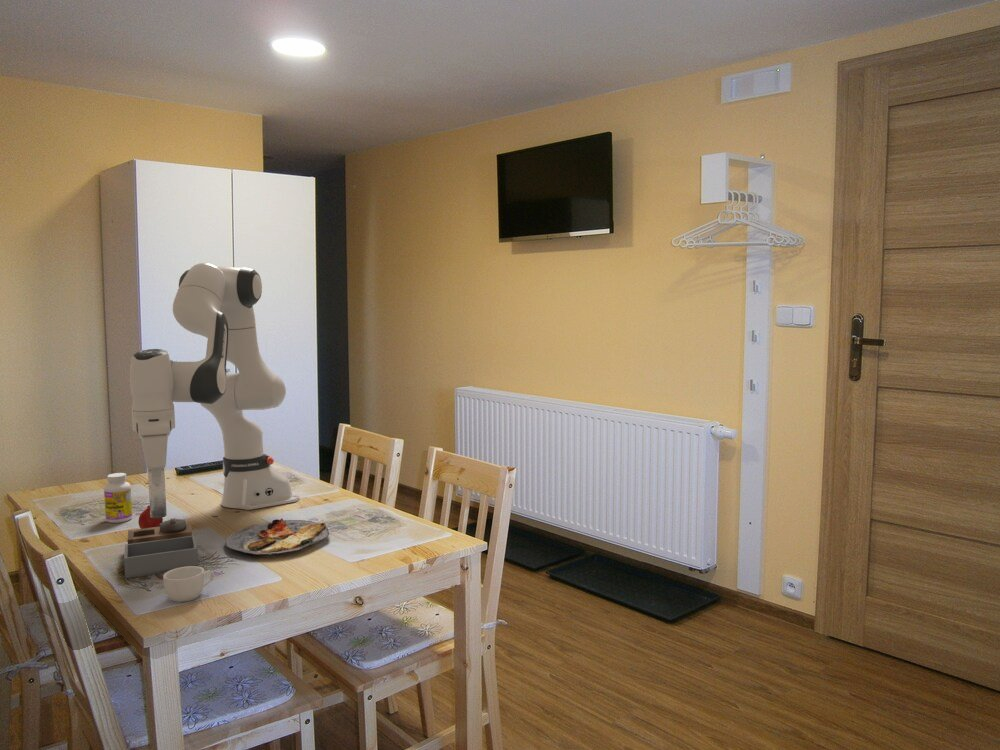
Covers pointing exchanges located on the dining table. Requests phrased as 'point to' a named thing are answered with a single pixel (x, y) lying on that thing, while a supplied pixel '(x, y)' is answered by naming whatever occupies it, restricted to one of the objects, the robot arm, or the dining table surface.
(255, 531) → the food plate
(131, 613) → the dining table surface
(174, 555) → the parts tray
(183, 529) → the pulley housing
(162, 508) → the pin
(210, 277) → the robot arm
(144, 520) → the red round piece
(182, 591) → the teacup
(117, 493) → the supplement bottle
